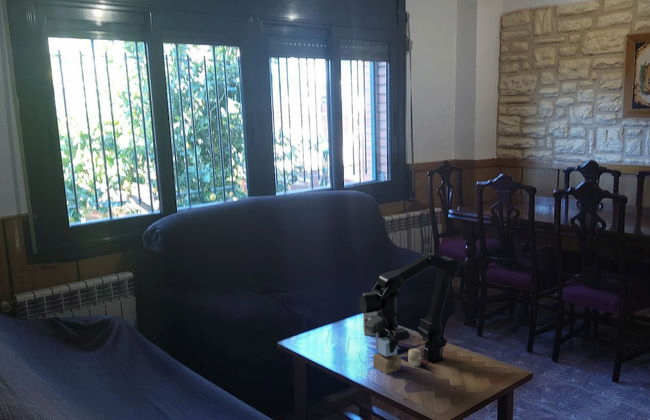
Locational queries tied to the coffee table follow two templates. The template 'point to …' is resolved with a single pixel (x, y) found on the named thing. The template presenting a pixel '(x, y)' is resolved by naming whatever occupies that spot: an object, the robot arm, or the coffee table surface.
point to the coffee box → (365, 318)
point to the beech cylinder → (414, 357)
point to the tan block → (387, 363)
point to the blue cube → (385, 347)
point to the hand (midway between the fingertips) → (387, 350)
